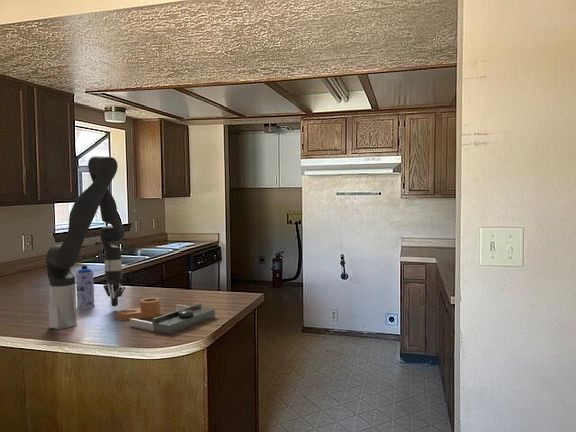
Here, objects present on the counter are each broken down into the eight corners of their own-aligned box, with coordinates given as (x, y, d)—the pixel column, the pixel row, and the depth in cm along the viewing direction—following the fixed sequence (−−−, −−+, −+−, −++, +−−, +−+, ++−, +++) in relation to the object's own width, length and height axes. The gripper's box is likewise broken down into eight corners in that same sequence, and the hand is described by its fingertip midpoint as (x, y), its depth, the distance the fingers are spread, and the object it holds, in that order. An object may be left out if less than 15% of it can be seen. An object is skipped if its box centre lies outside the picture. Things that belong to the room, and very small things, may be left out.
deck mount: (169, 334, 165) (168, 321, 165) (129, 326, 177) (129, 313, 176) (214, 317, 188) (214, 305, 187) (177, 310, 199) (177, 299, 199)
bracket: (159, 312, 198) (158, 297, 198) (160, 316, 191) (160, 301, 190) (117, 316, 192) (116, 301, 192) (116, 321, 184) (116, 305, 184)
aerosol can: (73, 308, 206) (71, 266, 205) (85, 304, 214) (84, 264, 212) (85, 309, 203) (84, 267, 202) (98, 305, 211) (97, 264, 210)
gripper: (97, 269, 201) (98, 306, 202) (115, 271, 194) (117, 309, 195) (111, 266, 208) (112, 302, 208) (129, 268, 201) (130, 305, 202)
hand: (114, 305), depth 202 cm, fingers closed
